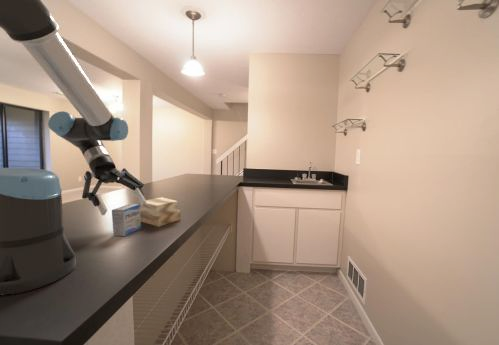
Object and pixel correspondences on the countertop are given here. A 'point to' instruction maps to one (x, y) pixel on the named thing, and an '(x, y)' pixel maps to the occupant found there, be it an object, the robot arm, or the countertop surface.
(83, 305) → the countertop surface
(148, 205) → the tower top slab
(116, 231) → the medicine box
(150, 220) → the tower bottom slab
